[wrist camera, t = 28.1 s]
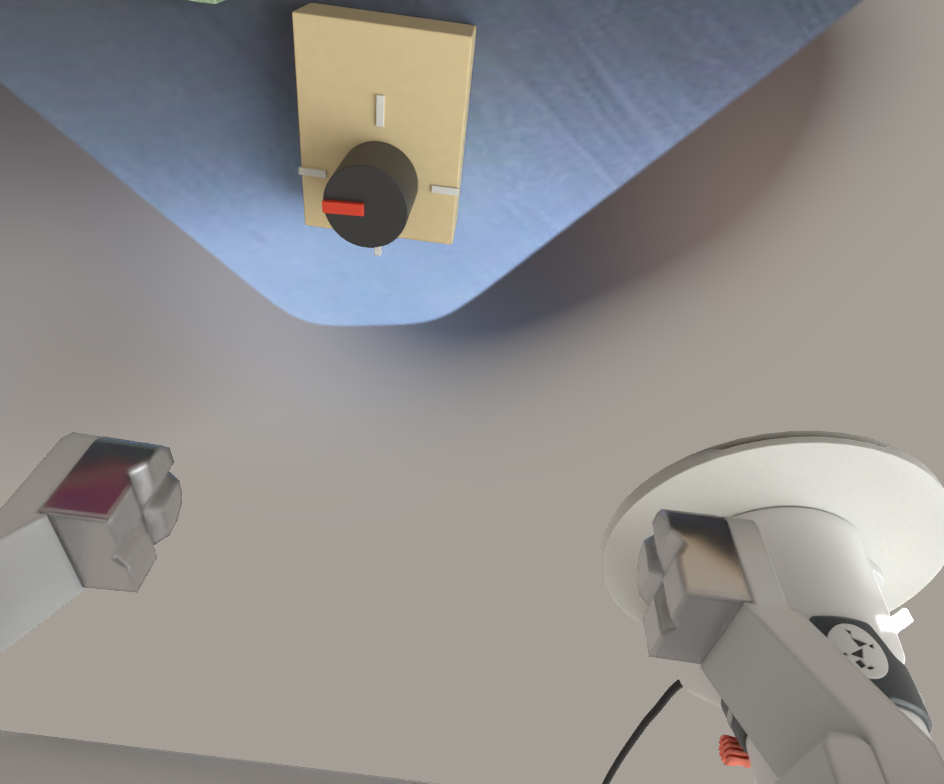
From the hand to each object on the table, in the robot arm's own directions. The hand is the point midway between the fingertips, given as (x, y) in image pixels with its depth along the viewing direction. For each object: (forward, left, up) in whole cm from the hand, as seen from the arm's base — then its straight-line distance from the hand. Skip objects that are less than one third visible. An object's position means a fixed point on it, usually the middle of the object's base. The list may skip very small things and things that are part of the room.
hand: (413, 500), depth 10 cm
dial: (-4, +5, -24) cm, 25 cm away
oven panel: (-2, +5, -27) cm, 28 cm away
